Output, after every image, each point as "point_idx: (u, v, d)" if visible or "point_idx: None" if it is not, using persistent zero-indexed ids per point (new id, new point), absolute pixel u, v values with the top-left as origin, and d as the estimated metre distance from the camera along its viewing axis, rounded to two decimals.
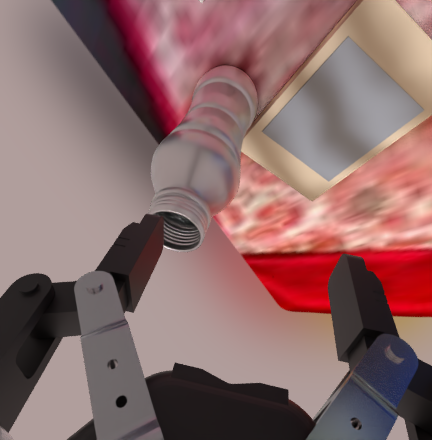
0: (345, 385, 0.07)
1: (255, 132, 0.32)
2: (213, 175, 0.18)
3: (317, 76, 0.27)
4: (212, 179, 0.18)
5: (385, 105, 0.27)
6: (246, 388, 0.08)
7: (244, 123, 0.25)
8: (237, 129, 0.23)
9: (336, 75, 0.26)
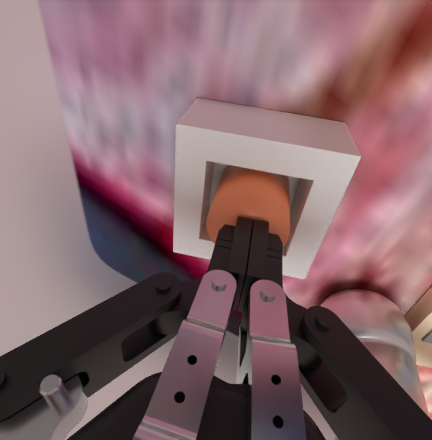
0: (253, 353, 0.08)
1: None
2: None
3: None
4: None
5: None
6: (246, 388, 0.08)
7: (423, 401, 0.17)
8: None
9: None
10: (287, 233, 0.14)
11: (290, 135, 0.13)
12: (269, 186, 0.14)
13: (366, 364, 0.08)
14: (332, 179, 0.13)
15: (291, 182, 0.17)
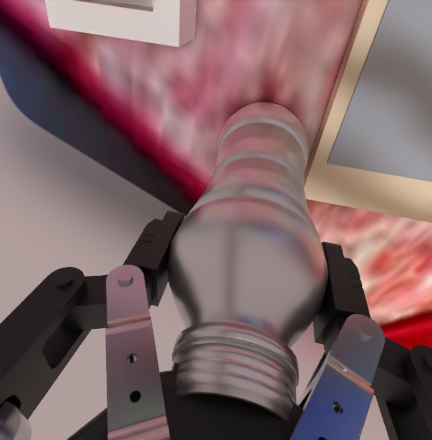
0: (323, 371, 0.08)
1: (319, 168, 0.23)
2: (268, 268, 0.09)
3: (375, 53, 0.17)
4: (268, 277, 0.09)
5: None
6: None
7: (295, 161, 0.16)
8: (286, 172, 0.14)
9: (406, 35, 0.17)
10: None
11: None
12: None
13: None
14: None
15: None
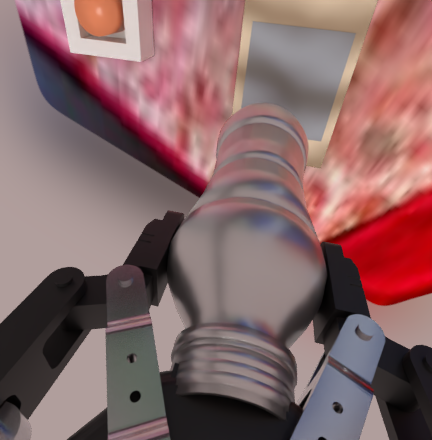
0: (323, 372, 0.08)
1: None
2: (267, 269, 0.09)
3: (250, 62, 0.31)
4: (266, 278, 0.09)
5: (319, 50, 0.30)
6: None
7: (294, 161, 0.16)
8: (285, 173, 0.14)
9: (264, 52, 0.31)
10: (112, 11, 0.28)
11: None
12: None
13: None
14: None
15: None
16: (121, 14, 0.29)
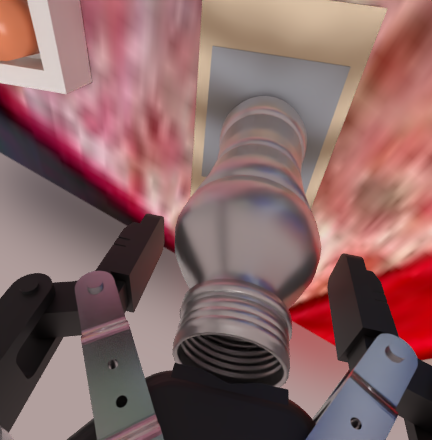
0: (345, 385, 0.07)
1: (197, 179, 0.29)
2: (267, 236, 0.10)
3: (212, 97, 0.24)
4: (266, 244, 0.10)
5: (301, 86, 0.22)
6: (245, 388, 0.08)
7: (293, 149, 0.17)
8: (285, 158, 0.15)
9: (229, 86, 0.23)
10: (15, 28, 0.20)
11: None
12: None
13: None
14: None
15: None
16: (34, 31, 0.22)
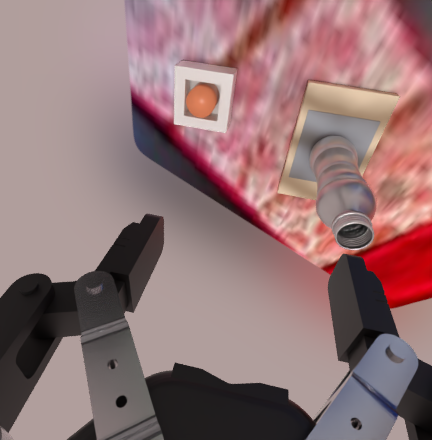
0: (345, 385, 0.07)
1: (285, 179, 0.49)
2: (361, 198, 0.31)
3: (303, 134, 0.44)
4: (362, 200, 0.30)
5: (354, 130, 0.42)
6: (246, 388, 0.08)
7: (356, 165, 0.38)
8: (356, 170, 0.35)
9: (314, 129, 0.43)
10: (213, 103, 0.40)
11: (213, 69, 0.40)
12: (207, 87, 0.40)
13: None
14: (227, 84, 0.39)
15: (220, 94, 0.43)
16: (216, 102, 0.42)
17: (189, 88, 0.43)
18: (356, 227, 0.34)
